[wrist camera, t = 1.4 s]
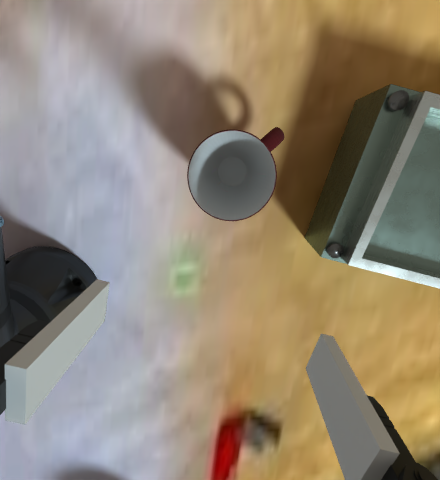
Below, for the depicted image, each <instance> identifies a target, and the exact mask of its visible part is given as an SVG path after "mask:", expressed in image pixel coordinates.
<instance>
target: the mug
mask: <svg viewBox="0 0 440 480" xmlns="http://www.w3.org/2000/svg"><path fill="white" fill-rule="evenodd" d="M283 140H284V133H283V131H282V130H281V129H280V128H278V127H275V128H274V129H272V130H271V131H270V132H269V133H268V134H266V135H265V136H264V137H263V138H262V139H261V140H260V139H259V138H257V137H256V136H254V135H252V134H250V133H248V132H245V131H241V130H224V131H220V132H217V133H215V134H212V135H211V136H209V137H207V138H206V139H205V140H204V141H202V142H201V143H200V144H199V146H198V147H197V148H196V150H195V151H194V153H193V155H192V157H191V159H190V162H189V166H188V174H187V177H188V185H189V189H190V192H191V195H192V197H193V199H194V200H195V202H196V203H197V205H198V206H199V207H200V208H201V209H202V210H203V211H204V212H206V213H207V214H209V215H210V216H212V217H214V218H217V219H220V220H225V221H238V220H243V219H246V218H249V217H251V216H253V215H255V214H256V213H258V212H259V211H260V210H261V209H262V208H263V207H264V206H265V205H266V204H267V203H268V201H269V200H270V198H271V196H272V194H273V192H274V189H275V185H276V177H277V172H276V165H275V161H274V158H273V156H272V154H271V151H272V150H273V149H274V148H276V147H277V146H278V145H279V144H280V143H281V142H282V141H283Z"/></svg>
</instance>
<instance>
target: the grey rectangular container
mask: <svg viewBox="0 0 440 480" xmlns="http://www.w3.org/2000/svg"><path fill="white" fill-rule="evenodd" d="M305 239H306V240H307V241H308V242H309V244H310V245H311V246H312V247H313V248H314V249H315V251H316V252H317V253H318V254H319V255H320V256H321V257H323V258H327V259H330V260H334V261H338V262H342V263H346V264H348V265H351V266H355V267H359V268H363V269H366V270H370V271H374V272H378V273H382V274H386V275H390V276H393V277H397V278H401V279H405V280H409V281H413V282H417V283H420V284H424V285H428V286H432V287H436V288H440V95H438V94H435V93H431V92H428V91H423V92H418V91H414V90H410V89H407V88H403V87H400V86H396V85H392V84H390V85H388V86H386V87H384V88H381V89H379V90H377V91H375V92H373V93H371V94H369V95H366V96H364V97H362V98H360V99H358V100H356V102H355V104H354V107H353V110H352V112H351V115H350V118H349V120H348V123H347V126H346V129H345V131H344V134H343V137H342V139H341V142H340V145H339V147H338V150H337V153H336V155H335V158H334V161H333V163H332V166H331V169H330V171H329V174H328V177H327V179H326V182H325V185H324V187H323V190H322V193H321V195H320V198H319V201H318V204H317V206H316V209H315V212H314V214H313V217H312V220H311V222H310V225H309V228H308V230H307V233H306V236H305Z"/></svg>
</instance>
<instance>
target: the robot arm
mask: <svg viewBox="0 0 440 480" xmlns="http://www.w3.org/2000/svg"><path fill="white" fill-rule="evenodd" d="M3 224H4V220H3V218H2V217H1V216H0V415H1V414H2V413H3V411H4V410H5V420H6V421H10V422H15V423H19V424H24V425H25V424H26V423H27V422H28V420H29V419H30V418H31V416H32V415H33V414H34V412H35V411H36V410H37V409H38V407H39V406H40V405H41V403H42V402H43V401H44V399H45V398H46V397H47V395H48V394H49V393H50V392H51V390H52V389H53V388H54V386H55V385H56V384H57V382H58V381H59V380H60V378H61V377H62V376H63V375H64V373H65V372H66V371H67V369H68V368H69V367H70V365H71V364H72V363H73V361H74V360H75V359H76V358H77V356H78V355H79V354H80V352H81V351H82V350H83V348H84V347H85V346H86V344H87V343H88V342H89V341H90V339H91V338H92V337H93V335H94V334H95V333H96V331H97V330H98V329H99V328H100V326H101V325H102V324H103V322H104V321H105V314H106V306H107V299H108V291H109V284H110V282H106V281H102V280H98V279H97V278H96V277H95V275H94V274H93V272H92V271H91V270H90V269H89V267H88V266H87V265H86V264H85V263H83V262H82V261H81V260H80V259H78V258H77V257H75V256H74V255H72V254H70V253H68V252H66V251H64V250H61V249H57V248H53V247H44V246H41V247H33V248H29V249H26V250H24V251H21V252H19V253H17V254H15V255H13V256H11V257H9V258H8V259H6V260H5V254H4V246H3V237H2V228H1V226H3ZM306 371H307V373H308V376H309V379H310V382H311V385H312V388H313V390H314V393H315V396H316V399H317V402H318V404H319V407H320V410H321V413H322V416H323V419H324V421H325V424H326V427H327V430H328V433H329V436H330V438H331V441H332V444H333V447H334V450H335V453H336V455H337V458H338V461H339V464H340V467H341V469H342V472H343V475H344V478H345V480H438V479H437V478H436V477H435V476H434V475H433V474H432V473H431V472H430V471H429V470H428V469H427V468H425V467H423V466H422V465H420V464H419V463H416V462H415V460H414V459H413V457H412V455H411V454H410V452H409V450H408V449H407V447H406V445H405V444H404V442H403V440H402V439H401V437H400V435H399V434H398V432H397V430H396V429H394V425H393V424H392V422H391V421H390V420H389V417H388V416H387V414H386V412H385V411H384V409H383V407H382V406H381V405H380V404H379V403H378V402H377V401H376V400H375V399H374V398H373V397H371V396H367V395H366V393H365V392H364V390H363V388H362V386H361V384H360V383H359V381H358V379H357V377H356V376H355V374H354V372H353V370H352V369H351V367H350V365H349V363H348V362H347V360H346V358H345V356H344V355H343V353H342V351H341V349H340V348H339V346H338V344H337V342H336V341H335V339H334V337H333V336H329V335H325V334H321V335H320V338H319V340H318V342H317V344H316V346H315V349H314V351H313V353H312V355H311V358H310V360H309V362H308V364H307V367H306Z"/></svg>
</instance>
